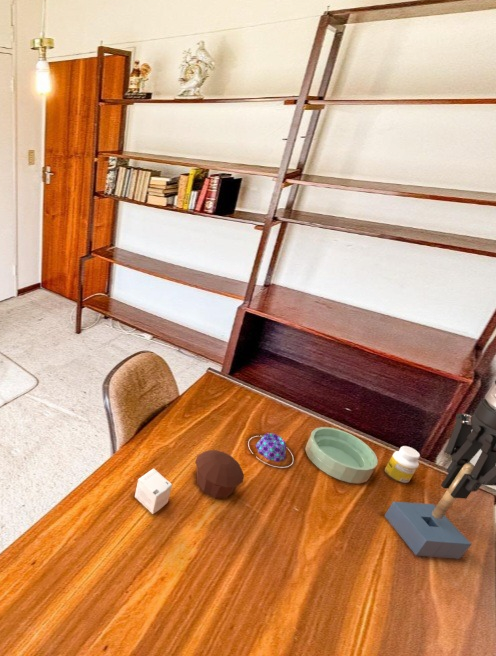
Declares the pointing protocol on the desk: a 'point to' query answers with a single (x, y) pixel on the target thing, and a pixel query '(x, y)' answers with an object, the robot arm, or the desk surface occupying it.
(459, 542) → the block
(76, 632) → the desk surface
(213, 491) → the muffin
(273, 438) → the checkered ringed planet
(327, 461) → the bowl
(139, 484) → the product carton
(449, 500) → the stick
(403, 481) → the supplement bottle
